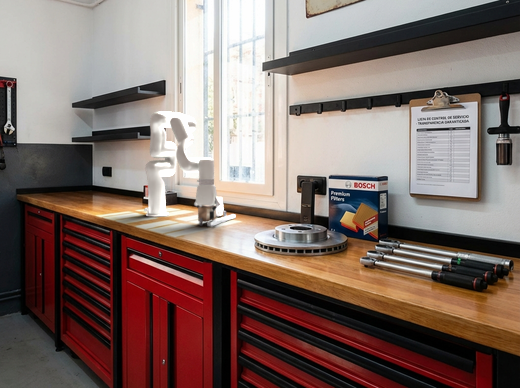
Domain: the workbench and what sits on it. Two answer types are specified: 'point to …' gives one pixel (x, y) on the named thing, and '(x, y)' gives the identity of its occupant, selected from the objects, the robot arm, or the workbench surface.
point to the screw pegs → (214, 219)
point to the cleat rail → (221, 220)
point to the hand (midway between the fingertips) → (207, 218)
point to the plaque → (205, 213)
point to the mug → (219, 209)
